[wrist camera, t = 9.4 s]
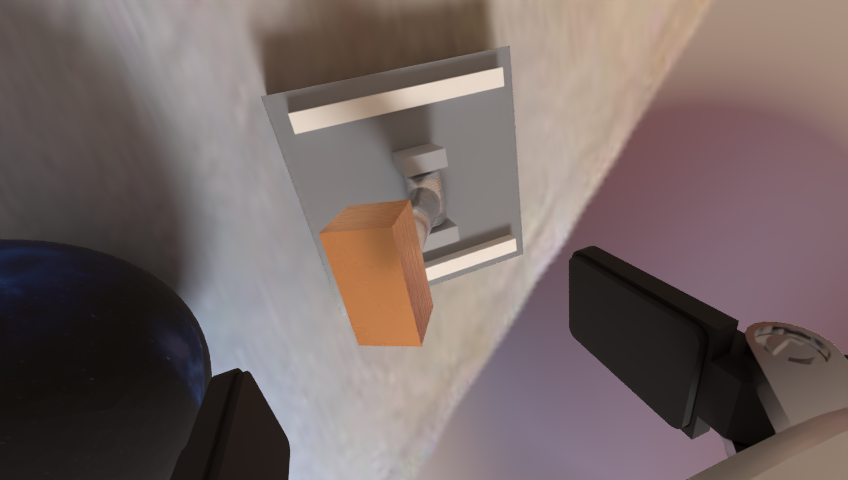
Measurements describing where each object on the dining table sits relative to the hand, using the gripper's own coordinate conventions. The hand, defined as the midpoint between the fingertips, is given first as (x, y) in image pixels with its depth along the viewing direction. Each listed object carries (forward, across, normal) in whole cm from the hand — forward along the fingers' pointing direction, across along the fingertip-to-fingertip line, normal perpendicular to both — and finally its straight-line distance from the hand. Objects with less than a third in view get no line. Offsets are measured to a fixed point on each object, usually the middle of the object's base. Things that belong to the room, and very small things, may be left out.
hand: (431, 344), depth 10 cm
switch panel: (+16, -3, 0) cm, 16 cm away
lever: (+11, -4, 0) cm, 12 cm away
